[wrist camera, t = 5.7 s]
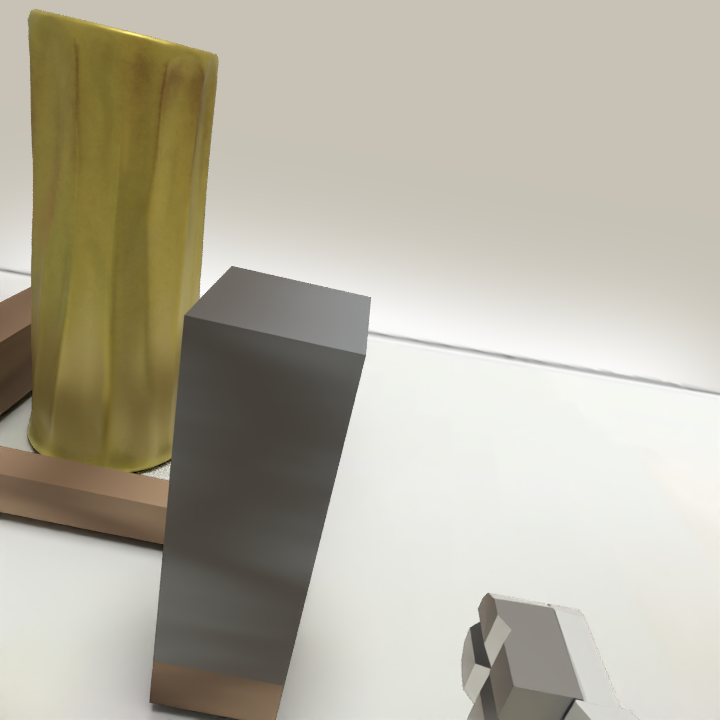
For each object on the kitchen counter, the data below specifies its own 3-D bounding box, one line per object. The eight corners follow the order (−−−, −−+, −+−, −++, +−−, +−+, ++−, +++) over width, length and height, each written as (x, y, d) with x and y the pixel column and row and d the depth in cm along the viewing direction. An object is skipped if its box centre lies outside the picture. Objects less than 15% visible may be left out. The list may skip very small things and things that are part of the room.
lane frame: (333, 399, 28) (379, 200, 24) (274, 725, 13) (365, 355, 9) (46, 337, 27) (40, 121, 23) (-357, 609, 12) (-573, 148, 8)
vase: (86, 378, 25) (89, 24, 19) (215, 411, 25) (258, 65, 19) (-12, 451, 20) (-49, -13, 14) (153, 495, 20) (187, 44, 14)
